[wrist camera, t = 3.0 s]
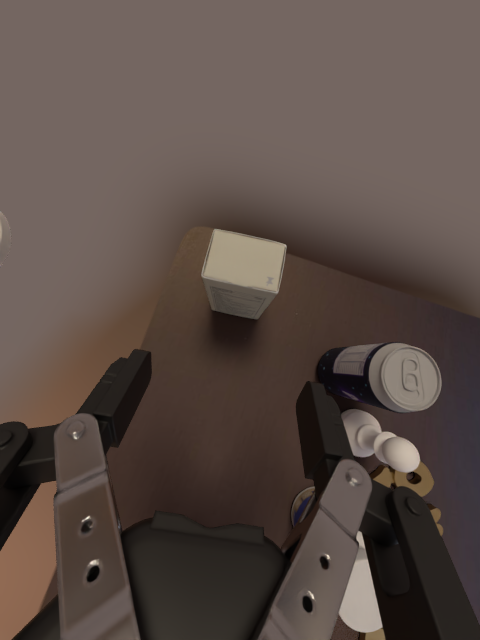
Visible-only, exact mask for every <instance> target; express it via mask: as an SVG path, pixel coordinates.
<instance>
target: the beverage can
mask: <svg viewBox="0 0 480 640" xmlns="http://www.w3.org/2000/svg"><path fill="white" fill-rule="evenodd" d="M318 374H319V378H320V381H321V383H322V384H323V385H324V387H325V388H326V389H327V390H328V391H329V392H331V393H333V394H336V395H339V396H342V397H346V398H349V399H352V400H356V401H359V402H363V403H366V404H369V405H373V406H376V407H379V408H383V409H386V410H389V411H393V412H397V413H409V412H412V411H421V410H424V409H426V408H428V407H430V406H431V405H432V404H433V403H434V402H435V401H436V400H437V398H438V396H439V394H440V390H441V383H442V382H441V374H440V371H439V368H438V366H437V364H436V362H435V361H434V359H433V358H432V357H431V356H430V355H429V354H428V353H426V352H425V351H423V350H422V349H419V348H417V347H413V346H410V345H408V344H405V343H400V342H391V343H381V344H371V345H361V346H351V347H342V348H334V349H331V350H329V351H327V352H326V353H325V354H324V355H323V356H322V358H321V360H320V362H319V366H318Z"/></svg>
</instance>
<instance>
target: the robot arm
mask: <svg viewBox="0 0 480 640" xmlns="http://www.w3.org/2000/svg"><path fill="white" fill-rule="evenodd" d="M151 374H152V366H151V352H149V351H144V350H138V349H134V350H133V351H132V353H131V354H130V356H129V358H128V359H126V358H119V359H118V360H117V361H115V362H114V363H112V364H111V366H110V367H109V368H108V370H107V371H106V372H105V375H103V377H102V378H101V379H100V382H99V383H98V384H97V385H96V387H95V388H94V389H93V391H92V392H91V394H90V395H89V396H88V398H87V399H86V401H85V402H84V404H83V405H82V406H81V408H80V409H79V410H78V412H77V413H76V414H75V415H73V416H71V417H69V418H67V419H66V420H64V421H63V422H62V423H60V424H57V425H52V426H46V427H39V428H30V429H28V428H27V426H26V425H25V424H24V423H21V422H7V423H3V424H0V551H1V549H2V547H3V546H4V544H5V542H6V541H7V539H8V537H9V536H10V534H11V532H12V531H13V529H14V527H15V526H16V524H17V522H18V521H19V519H20V517H21V516H22V514H23V512H24V511H25V509H26V507H27V506H28V504H29V502H30V501H31V499H32V498H33V496H34V494H35V493H36V491H37V489H38V488H39V486H40V484H41V483H45V482H50V481H57V492H56V494H55V495H54V523H55V542H56V560H57V579H58V594H57V595H56V596H55V597H54V598H53V599H52V600H51V601H50V602H49V603H48V604H47V605H46V606H45V607H44V608H43V609H42V610H41V611H40V612H39V613H38V614H37V615H36V616H35V617H34V618H33V619H32V620H31V621H30V622H29V623H28V624H27V625H26V626H25V627H24V628H23V629H22V630H21V631H20V632H19V633H18V634H17V635H16V636H15V637H14V638H13V639H12V640H331V636H332V633H333V629H334V626H335V623H336V620H337V617H338V614H339V610H340V607H341V604H342V601H343V598H344V595H345V592H346V588H347V585H348V582H349V579H350V576H351V573H352V570H353V566H354V563H355V560H356V557H357V554H358V550H359V542H358V541H357V539H356V537H357V533H358V531H360V532H362V536H363V541H364V545H365V550H366V554H367V559H368V563H369V568H370V572H371V577H372V581H373V586H374V590H375V595H376V599H377V604H378V608H379V613H380V617H381V622H382V626H383V631H384V635H385V640H480V625H479V623H478V621H477V618H476V616H475V614H474V611H473V609H472V607H471V604H470V602H469V600H468V597H467V595H466V593H465V590H464V588H463V586H462V583H461V581H460V579H459V576H458V574H457V572H456V569H455V567H454V565H453V562H452V560H451V558H450V555H449V553H448V551H447V548H446V546H445V544H444V542H443V539H442V537H441V535H440V532H439V530H438V528H437V525H436V523H435V521H434V518H433V516H432V514H431V511H430V509H429V507H428V506H427V504H426V503H425V501H424V500H423V499H422V498H421V496H419V495H418V494H417V493H416V492H415V491H413V490H412V489H410V488H408V487H405V486H399V487H397V488H395V489H394V490H392V489H390V488H388V487H387V486H385V485H383V484H381V483H379V482H377V481H375V480H373V479H371V478H370V477H369V475H368V473H367V472H366V470H365V469H364V468H363V467H362V466H361V465H360V464H359V463H357V462H356V461H355V458H354V456H353V452H352V449H351V446H350V443H349V439H348V436H347V433H346V429H345V426H344V423H343V420H342V418H341V413H340V410H339V407H338V405H337V403H336V402H335V400H334V399H333V397H332V396H328V395H326V391H325V387H324V385H323V384H321V383H316V382H310V381H307V382H306V384H305V386H304V388H303V389H302V391H301V393H300V395H299V397H298V399H297V403H296V415H297V422H298V429H299V437H300V444H301V451H302V459H303V466H304V473H305V478H307V479H313V480H314V486H315V490H314V491H313V493H312V495H311V497H310V499H309V501H308V502H307V504H306V506H305V508H304V510H303V512H302V514H301V515H300V517H299V519H298V521H297V523H296V525H295V526H294V528H293V530H292V531H291V532H290V534H289V535H288V537H287V538H286V540H285V542H284V543H283V545H282V547H281V549H280V548H279V547H278V546H277V545H276V544H275V543H274V542H273V541H271V540H270V539H269V538H267V537H266V536H264V527H258V526H251V525H245V524H239V523H237V524H231V525H226V526H220V527H215V528H207V527H205V526H203V525H201V524H199V523H197V522H195V521H193V520H192V519H190V518H188V517H186V516H184V515H181V514H175V513H168V512H162V511H155V514H154V517H153V518H149V519H145V520H142V521H140V522H138V523H135V524H133V525H132V526H130V527H129V528H127V529H125V530H124V531H123V532H122V527H121V522H120V517H119V513H118V508H117V504H116V500H115V495H114V490H113V485H112V481H111V476H110V471H109V466H108V461H107V457H106V453H107V451H108V450H109V448H110V446H111V447H117V448H118V447H119V445H120V443H121V440H122V438H123V436H124V434H125V432H126V430H127V428H128V426H129V424H130V422H131V420H132V418H133V416H134V414H135V412H136V410H137V407H138V405H139V403H140V401H141V399H142V397H143V395H144V393H145V391H146V389H147V387H148V385H149V382H150V379H151Z"/></svg>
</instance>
